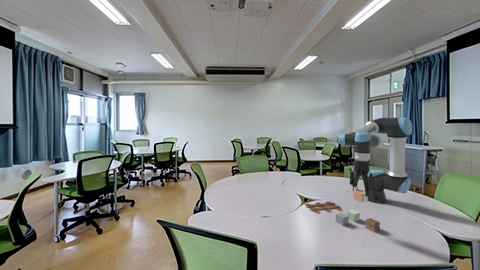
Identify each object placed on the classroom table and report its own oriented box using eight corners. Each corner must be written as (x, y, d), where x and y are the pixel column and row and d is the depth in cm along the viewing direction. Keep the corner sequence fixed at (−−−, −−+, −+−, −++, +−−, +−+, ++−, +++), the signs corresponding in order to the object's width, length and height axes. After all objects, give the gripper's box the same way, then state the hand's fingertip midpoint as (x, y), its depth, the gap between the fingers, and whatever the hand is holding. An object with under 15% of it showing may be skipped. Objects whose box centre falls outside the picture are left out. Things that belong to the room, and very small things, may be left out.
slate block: (341, 220, 123) (341, 212, 123) (348, 223, 119) (348, 216, 118) (335, 221, 121) (335, 214, 121) (342, 225, 117) (343, 217, 116)
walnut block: (370, 225, 116) (371, 217, 116) (379, 230, 112) (380, 221, 111) (365, 227, 114) (365, 219, 114) (373, 232, 110) (374, 223, 109)
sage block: (352, 216, 127) (352, 209, 127) (359, 220, 123) (359, 212, 122) (346, 218, 125) (347, 210, 125) (354, 222, 121) (354, 214, 120)
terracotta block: (359, 197, 116) (359, 189, 116) (367, 200, 111) (367, 192, 111) (353, 199, 114) (353, 191, 114) (361, 202, 109) (362, 193, 109)
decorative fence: (303, 205, 146) (314, 215, 131) (303, 203, 146) (314, 212, 131) (330, 202, 150) (344, 211, 136) (330, 200, 150) (344, 209, 135)
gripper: (343, 157, 117) (342, 195, 119) (374, 163, 101) (372, 207, 103) (351, 156, 120) (350, 193, 122) (383, 162, 104) (381, 204, 106)
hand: (360, 199), depth 113 cm, fingers closed on terracotta block, 5 cm apart
